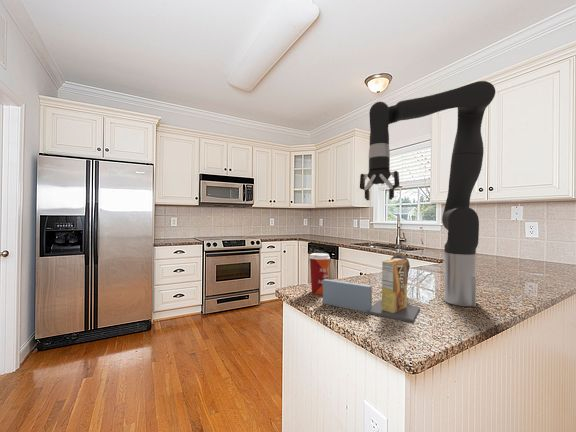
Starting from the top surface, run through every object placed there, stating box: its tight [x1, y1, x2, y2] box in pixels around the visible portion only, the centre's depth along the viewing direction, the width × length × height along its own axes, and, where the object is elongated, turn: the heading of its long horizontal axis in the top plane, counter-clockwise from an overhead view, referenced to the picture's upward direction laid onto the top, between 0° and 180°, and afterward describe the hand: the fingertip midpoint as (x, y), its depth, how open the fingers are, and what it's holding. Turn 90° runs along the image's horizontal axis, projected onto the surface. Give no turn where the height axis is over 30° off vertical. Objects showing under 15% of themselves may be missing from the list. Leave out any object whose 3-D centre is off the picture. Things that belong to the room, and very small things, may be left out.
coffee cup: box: [308, 252, 331, 296], centre depth 106 cm, size 8×8×15 cm
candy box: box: [381, 258, 408, 313], centre depth 85 cm, size 9×4×15 cm, turn 132°
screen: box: [322, 278, 373, 313], centre depth 89 cm, size 16×2×8 cm, turn 57°
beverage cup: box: [389, 242, 411, 282], centre depth 102 cm, size 7×7×20 cm
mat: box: [366, 299, 421, 323], centre depth 85 cm, size 13×13×1 cm
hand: (378, 199), depth 104 cm, fingers open, 8 cm apart
